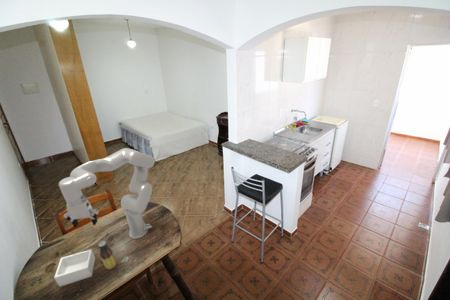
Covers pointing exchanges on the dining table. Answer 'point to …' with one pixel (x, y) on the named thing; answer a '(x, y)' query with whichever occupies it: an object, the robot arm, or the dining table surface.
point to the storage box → (75, 268)
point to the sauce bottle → (107, 256)
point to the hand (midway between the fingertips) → (86, 224)
